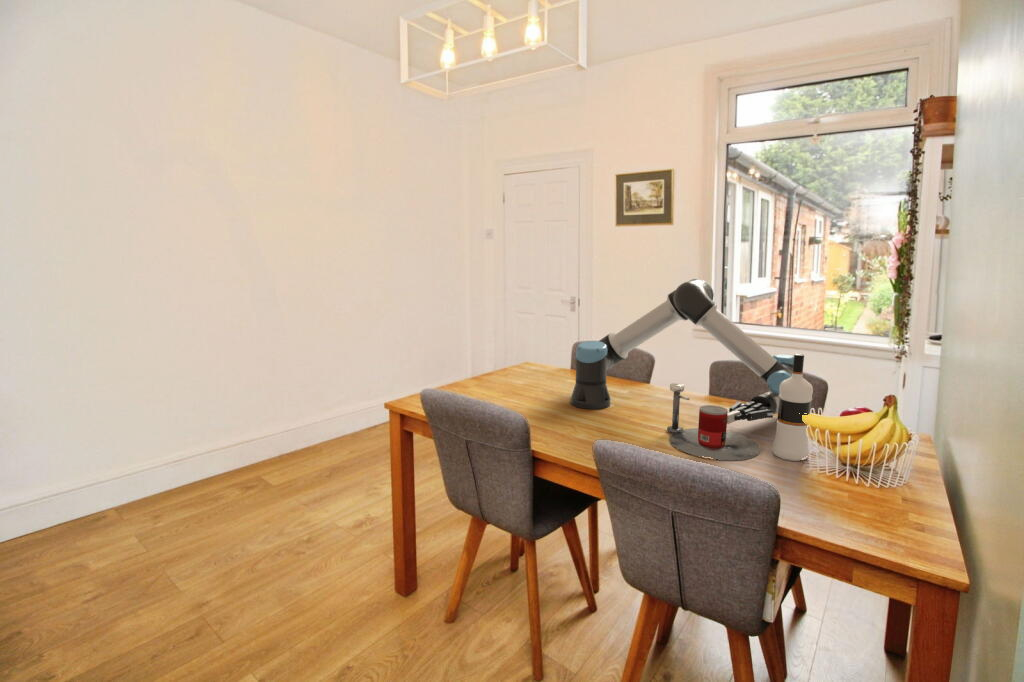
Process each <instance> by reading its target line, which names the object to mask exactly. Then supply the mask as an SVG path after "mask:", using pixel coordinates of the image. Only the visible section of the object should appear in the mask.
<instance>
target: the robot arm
mask: <svg viewBox="0 0 1024 682" xmlns="http://www.w3.org/2000/svg"><path fill="white" fill-rule="evenodd" d="M713 290H714V289H713V288H712V286H711V284H709V283H708V282H707V281H706V280H703V279H700V278H693V279H690V280H688V281H685V282H683V283H681V284H679V285H678V286H677V287H676V289H674V290H673V291H671V292H670V293H669V294H667V297H666V298H667V299H666V300H665V301H664V302H662V303H661V304H660V305H658V306H656V307H655V308H653V309H652V310H649V312H647V313H645V315H643V316H641V317H639V318H637V319H636V320H635V321H634V322H631V323H629V325H627V326H625V327H624V328H623V329H622V330H619V332H617V333H615V332H614V333H613V332H610V333H608V334H607V335H606V336H604V337H602V338H601V339H599V340H588V341H583V342H580V343H579V344H578V345H577V346H576V348H575V349H576V350H575V384H574V386H573V390H572V393H571V396H570V404H571V405H572V406H574V407H576V408H579V409H585V410H601V409H606V408H608V407H610V406H611V396H610V393H609V389H608V386H607V375H608V373H607V371H608V370H609V369H611V368H613V367H615V366H617V365H618V364H619V363H621V362H622V361H624V360H626V359H627V358H628V355H629V353H630V352H631V351H632V350H635V349H636V348H637V347H639V346H640V345H642V344H644V343H645V342H646V341H648V340H650V339H651V338H653V337H655V336H657V335H658V334H659V333H662V332H663V331H664V330H665V329H667V328H669V327H670V326H672V325H674V324H675V323H677V322H678V321H684V322H685V321H688V320H689V322H691V323H693V324H694V326H701V327H702V328H703V329H704V330H705V331H706V332H708V333H709V334H710V335H711V336H712V337H713V338H714V339H716V340H717V341H718V342H719V343H720V344H722V346H724V347H725V349H727V350H728V351H729V352H730V353H731V354H733V355H734V357H736V358H737V359H739V361H741V362H742V363H743V364H744V365H745V366H746V367H748V368H749V369H750V370H751V371H752V372H753V373H755V374H756V375H757V376H758V377H759V378H760V379H761V380H762V381H763V382H765V383H766V385H767V387H768V389H769V390H768V391H767V392H764V393H761V394H758V395H755V396H754V397H753V398H751V399H750V401H748V402H744V403H742V402H741V401H740V400H736V401H735V403H734V404H732V405H731V406H730V407H729V411H728V414H727V425H729V424H732V423H735V422H737V421H741V420H742V421H745V420H746V421H748V422H751V421H757V420H763V419H773V418H774V415H775V414H776V415H777V414H778V407H779V394H780V391H779V387H780V384H781V382H782V381H784V380H786V379H788V378H790V377H792V372H793V360H794V355H790V354H783V353H779V354H775V355H774V354H773V355H771V353H769V352H768V351H766V349H764V348H763V347H762V346H761V345H760V344H759V343H758V342H756V341H755V340H754V339H752V338H751V337H750V336H749V335H748V334H747V333H745V332H744V331H743V329H741V328H740V327H739V326H737V324H735V323H734V322H733V321H732V320H731V319H729V318H728V316H726V315H725V314H724V313H723V312H721V311H720V309H718V308H717V307H718V305H717V303H716V302H714V295H715V294H714V291H713Z"/></svg>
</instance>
